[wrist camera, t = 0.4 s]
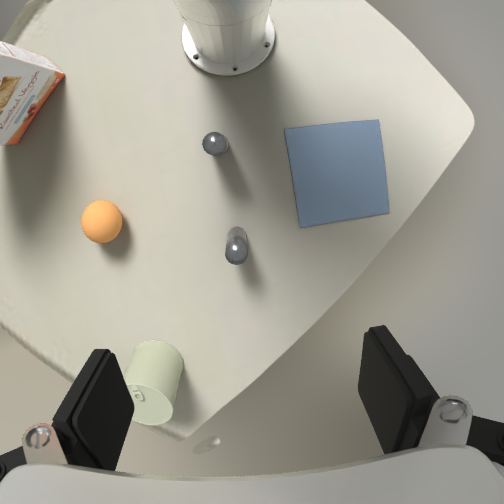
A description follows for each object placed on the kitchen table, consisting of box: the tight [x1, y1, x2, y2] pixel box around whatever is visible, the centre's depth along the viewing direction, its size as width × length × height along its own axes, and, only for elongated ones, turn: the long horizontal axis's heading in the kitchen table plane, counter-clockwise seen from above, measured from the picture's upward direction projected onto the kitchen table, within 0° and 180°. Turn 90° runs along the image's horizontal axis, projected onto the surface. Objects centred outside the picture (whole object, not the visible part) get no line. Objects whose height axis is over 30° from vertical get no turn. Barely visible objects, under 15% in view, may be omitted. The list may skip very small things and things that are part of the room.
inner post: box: [202, 132, 229, 155], centre depth 38 cm, size 3×3×8 cm
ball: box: [81, 200, 122, 243], centre depth 41 cm, size 6×6×6 cm
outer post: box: [225, 227, 247, 265], centre depth 42 cm, size 3×3×8 cm
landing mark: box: [284, 120, 389, 228], centre depth 43 cm, size 14×14×1 cm
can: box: [124, 340, 184, 425], centre depth 47 cm, size 9×9×12 cm
